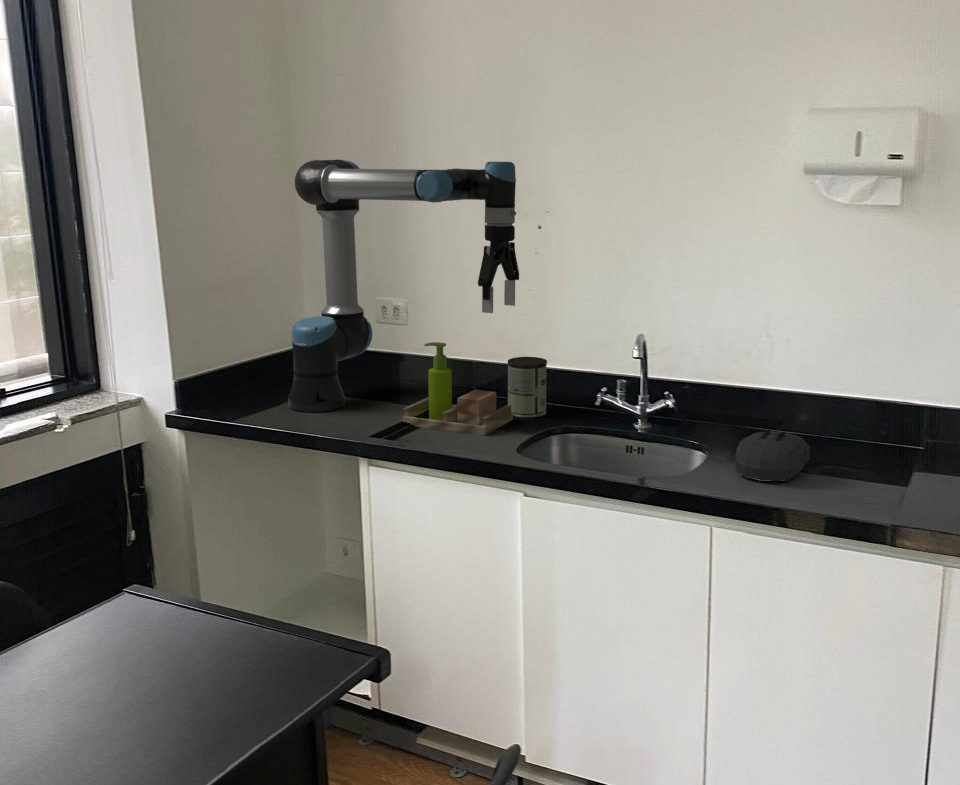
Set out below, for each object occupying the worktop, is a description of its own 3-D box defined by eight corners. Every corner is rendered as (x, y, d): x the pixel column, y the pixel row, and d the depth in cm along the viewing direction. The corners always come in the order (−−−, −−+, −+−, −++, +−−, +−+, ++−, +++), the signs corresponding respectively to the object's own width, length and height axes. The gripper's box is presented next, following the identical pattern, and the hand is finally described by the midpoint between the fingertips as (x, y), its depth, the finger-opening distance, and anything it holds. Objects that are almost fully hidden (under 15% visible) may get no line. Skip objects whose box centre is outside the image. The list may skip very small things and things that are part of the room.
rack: (401, 424, 256) (401, 409, 255) (433, 409, 270) (433, 395, 269) (484, 435, 246) (484, 419, 245) (512, 419, 260) (512, 404, 259)
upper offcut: (457, 413, 252) (457, 398, 251) (474, 404, 260) (474, 389, 260) (479, 416, 249) (479, 400, 248) (496, 407, 258) (496, 392, 257)
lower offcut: (457, 429, 253) (457, 413, 252) (475, 419, 261) (475, 404, 260) (479, 432, 250) (479, 416, 249) (496, 422, 259) (496, 407, 258)
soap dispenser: (429, 415, 264) (429, 340, 259) (455, 417, 262) (454, 341, 257) (421, 421, 259) (420, 344, 254) (447, 423, 257) (446, 345, 252)
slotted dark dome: (746, 455, 231) (722, 479, 214) (748, 419, 229) (724, 441, 212) (814, 464, 224) (795, 490, 207) (817, 428, 222) (798, 451, 205)
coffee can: (508, 407, 273) (508, 356, 270) (546, 408, 272) (547, 356, 269) (505, 417, 263) (506, 363, 260) (545, 418, 262) (546, 364, 259)
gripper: (492, 228, 241) (491, 317, 246) (532, 222, 263) (531, 303, 268) (464, 227, 244) (463, 314, 249) (506, 221, 266) (505, 301, 271)
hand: (498, 309), depth 259 cm, fingers open, 13 cm apart
